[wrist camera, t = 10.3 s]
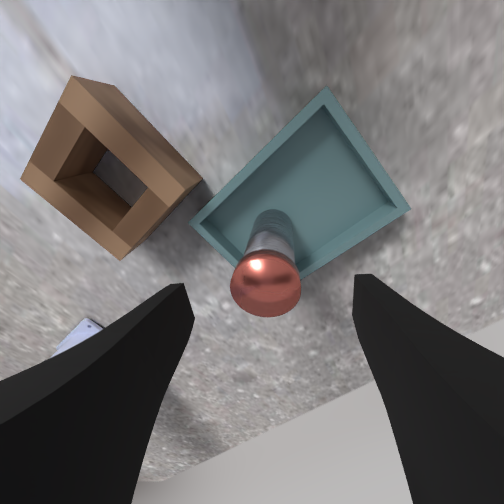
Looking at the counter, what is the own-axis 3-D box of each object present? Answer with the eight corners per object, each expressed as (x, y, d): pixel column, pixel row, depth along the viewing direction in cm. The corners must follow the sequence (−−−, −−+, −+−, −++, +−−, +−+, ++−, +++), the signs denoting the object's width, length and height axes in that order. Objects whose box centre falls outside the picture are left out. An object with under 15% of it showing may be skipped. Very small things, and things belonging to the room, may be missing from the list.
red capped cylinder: (304, 229, 18) (316, 293, 11) (271, 255, 20) (263, 327, 13) (274, 197, 17) (266, 245, 10) (242, 226, 19) (216, 286, 12)
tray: (398, 200, 17) (411, 208, 15) (270, 286, 22) (268, 300, 20) (321, 90, 15) (326, 85, 13) (196, 214, 19) (187, 222, 18)
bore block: (203, 178, 18) (185, 189, 15) (144, 240, 21) (119, 260, 18) (114, 85, 16) (71, 75, 13) (64, 170, 19) (20, 179, 16)
